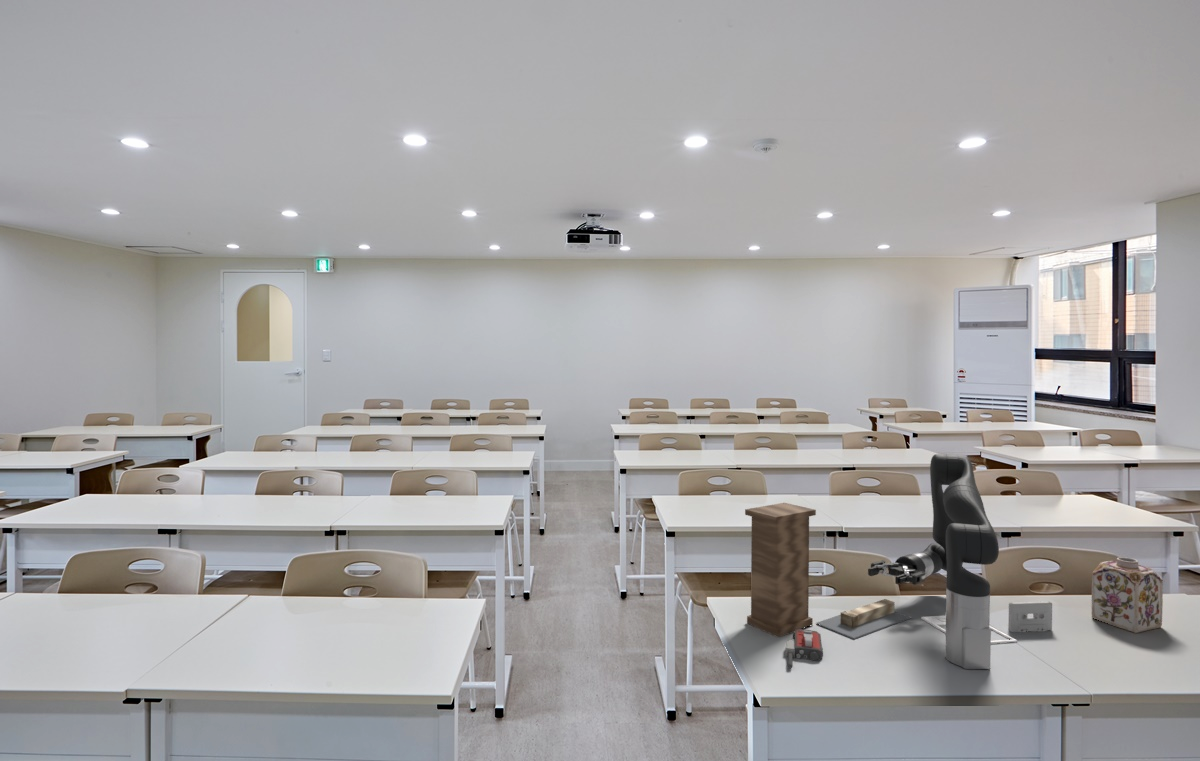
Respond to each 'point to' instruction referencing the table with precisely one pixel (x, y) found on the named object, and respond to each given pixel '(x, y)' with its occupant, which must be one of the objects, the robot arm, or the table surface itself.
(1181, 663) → the table surface
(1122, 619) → the decorative jar
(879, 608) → the wooden bar
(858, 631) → the mat
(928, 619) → the photo frame
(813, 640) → the walkie-talkie
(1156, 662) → the table surface
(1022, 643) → the table surface
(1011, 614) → the cassette
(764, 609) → the stand
